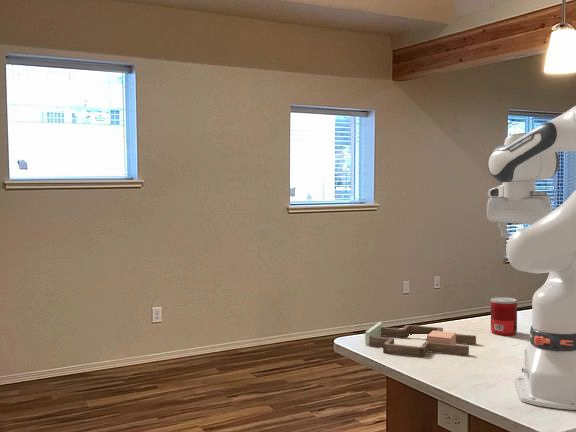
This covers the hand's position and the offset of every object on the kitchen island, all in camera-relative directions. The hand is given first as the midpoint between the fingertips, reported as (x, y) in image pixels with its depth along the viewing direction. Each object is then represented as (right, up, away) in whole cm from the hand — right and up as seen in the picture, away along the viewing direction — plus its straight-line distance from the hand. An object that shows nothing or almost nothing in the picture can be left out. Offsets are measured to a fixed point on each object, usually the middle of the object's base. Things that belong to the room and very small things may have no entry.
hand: (518, 239), depth 179 cm
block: (-20, -33, +8) cm, 39 cm away
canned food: (+3, -31, +22) cm, 38 cm away
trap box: (-26, -32, +11) cm, 43 cm away
